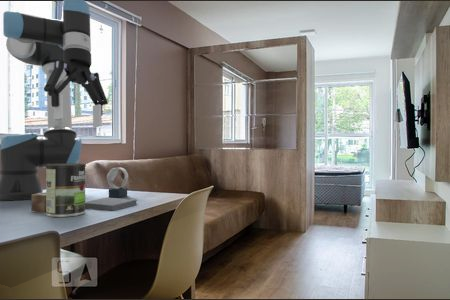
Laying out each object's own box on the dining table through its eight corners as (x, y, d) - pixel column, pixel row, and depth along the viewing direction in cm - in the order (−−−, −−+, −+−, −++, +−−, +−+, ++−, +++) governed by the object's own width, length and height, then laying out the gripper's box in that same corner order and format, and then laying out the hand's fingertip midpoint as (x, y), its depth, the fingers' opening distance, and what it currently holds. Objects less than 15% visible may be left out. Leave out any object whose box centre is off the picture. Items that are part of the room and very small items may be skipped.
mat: (81, 207, 109) (81, 202, 109) (106, 201, 121) (106, 197, 120) (112, 210, 105) (112, 205, 105) (136, 204, 116) (136, 199, 116)
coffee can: (92, 211, 104) (93, 163, 104) (70, 218, 94) (70, 165, 94) (61, 209, 106) (61, 162, 106) (37, 216, 96) (37, 164, 96)
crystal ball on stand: (112, 195, 136) (113, 166, 136) (131, 196, 134) (131, 167, 134) (104, 197, 131) (104, 167, 131) (122, 198, 128) (123, 168, 128)
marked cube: (31, 211, 103) (31, 193, 102) (45, 208, 107) (45, 191, 107) (44, 213, 101) (44, 194, 101) (58, 210, 105) (58, 192, 105)
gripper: (47, 32, 90) (49, 113, 87) (117, 61, 112) (120, 127, 109) (28, 39, 93) (29, 118, 90) (100, 67, 115) (102, 130, 113)
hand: (79, 123), depth 100 cm, fingers open, 13 cm apart
